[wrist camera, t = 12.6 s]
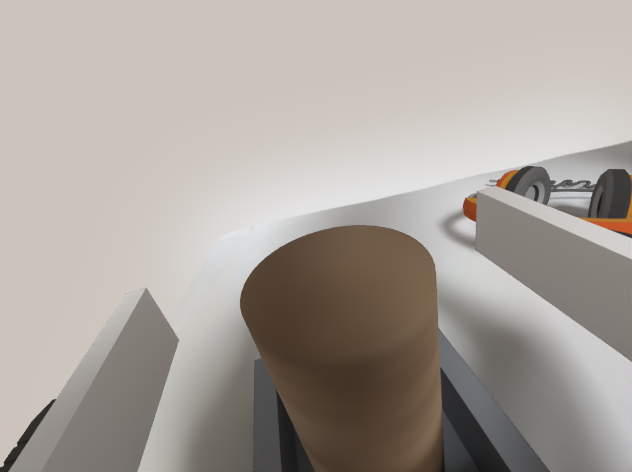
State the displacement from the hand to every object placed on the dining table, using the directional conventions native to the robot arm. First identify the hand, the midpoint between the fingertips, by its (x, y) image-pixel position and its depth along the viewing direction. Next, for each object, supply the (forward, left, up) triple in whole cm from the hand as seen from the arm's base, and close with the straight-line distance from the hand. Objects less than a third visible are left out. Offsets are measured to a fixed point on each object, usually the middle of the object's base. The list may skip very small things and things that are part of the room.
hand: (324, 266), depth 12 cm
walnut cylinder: (0, +3, -8) cm, 9 cm away
